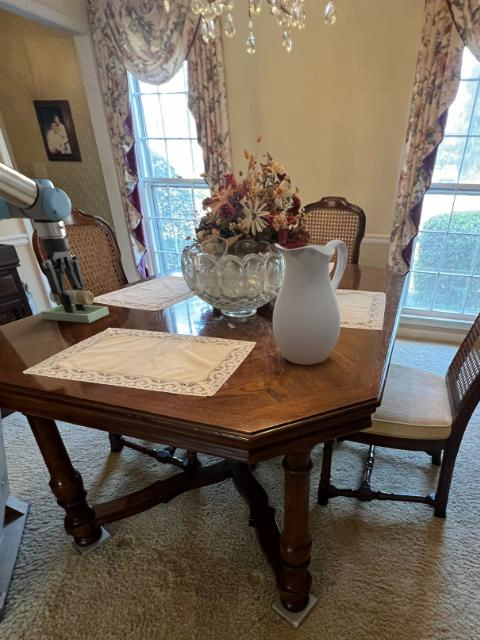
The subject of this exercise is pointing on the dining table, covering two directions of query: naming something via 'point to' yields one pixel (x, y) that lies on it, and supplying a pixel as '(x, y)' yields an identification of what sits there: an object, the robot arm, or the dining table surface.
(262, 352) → the dining table surface
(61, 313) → the tray
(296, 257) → the pitcher
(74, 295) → the sprinkles bottle
